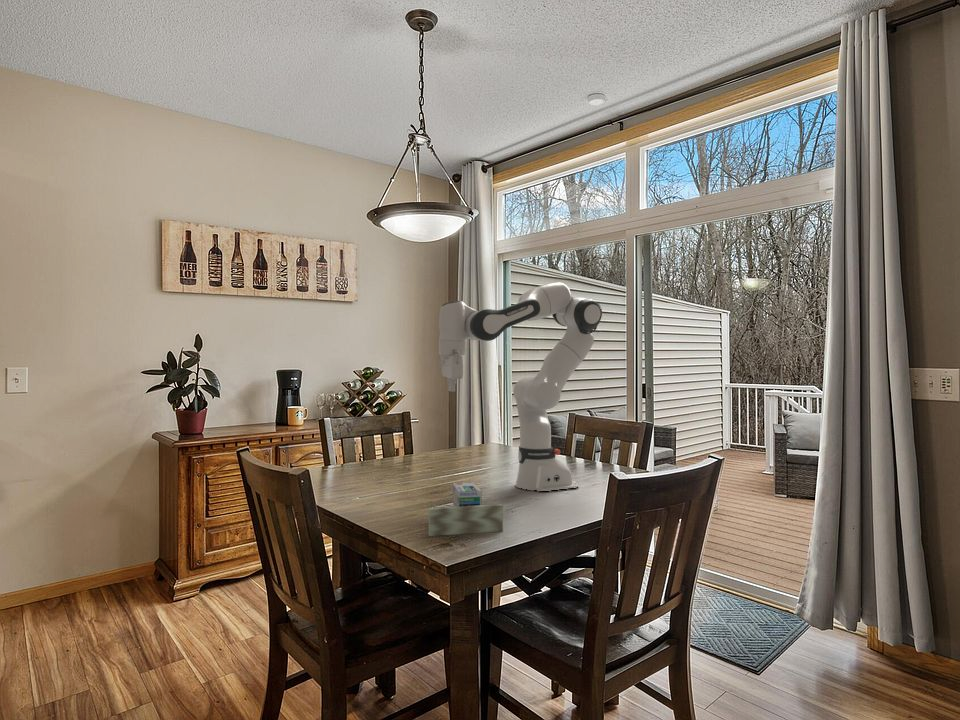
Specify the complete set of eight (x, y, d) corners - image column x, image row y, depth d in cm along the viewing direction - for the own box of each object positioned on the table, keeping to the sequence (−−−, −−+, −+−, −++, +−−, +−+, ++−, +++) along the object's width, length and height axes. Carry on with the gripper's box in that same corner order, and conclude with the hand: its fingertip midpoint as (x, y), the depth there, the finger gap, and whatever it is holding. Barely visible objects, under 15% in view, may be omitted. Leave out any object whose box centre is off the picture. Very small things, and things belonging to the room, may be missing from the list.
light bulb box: (482, 529, 158) (483, 490, 158) (458, 531, 157) (458, 491, 157) (474, 518, 169) (475, 481, 169) (452, 519, 167) (452, 482, 167)
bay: (489, 516, 171) (489, 492, 171) (502, 531, 157) (502, 505, 157) (422, 520, 166) (422, 495, 166) (429, 536, 152) (429, 509, 152)
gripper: (467, 349, 183) (467, 393, 183) (455, 349, 203) (455, 389, 203) (448, 349, 181) (447, 393, 182) (437, 349, 201) (437, 389, 202)
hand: (451, 391), depth 193 cm, fingers closed
